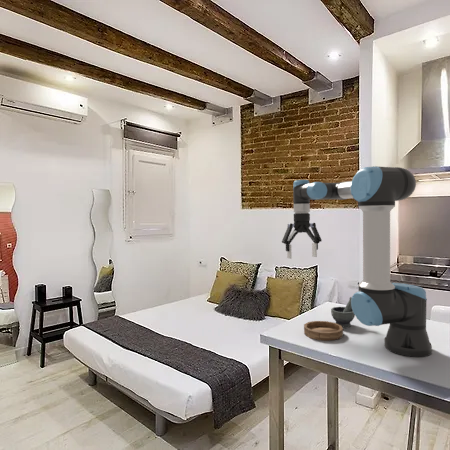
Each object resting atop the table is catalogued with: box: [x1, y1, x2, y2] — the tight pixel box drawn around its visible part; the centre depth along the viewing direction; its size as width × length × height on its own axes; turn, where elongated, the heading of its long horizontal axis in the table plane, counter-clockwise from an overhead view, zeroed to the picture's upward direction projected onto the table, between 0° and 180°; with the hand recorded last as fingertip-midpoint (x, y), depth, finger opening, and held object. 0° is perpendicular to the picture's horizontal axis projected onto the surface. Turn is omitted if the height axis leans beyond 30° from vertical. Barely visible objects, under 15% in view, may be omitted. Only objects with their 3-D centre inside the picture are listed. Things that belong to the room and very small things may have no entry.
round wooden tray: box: [303, 320, 344, 342], centre depth 143 cm, size 15×15×3 cm
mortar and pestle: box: [330, 296, 356, 329], centre depth 154 cm, size 11×9×12 cm
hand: (302, 257), depth 168 cm, fingers open, 13 cm apart
